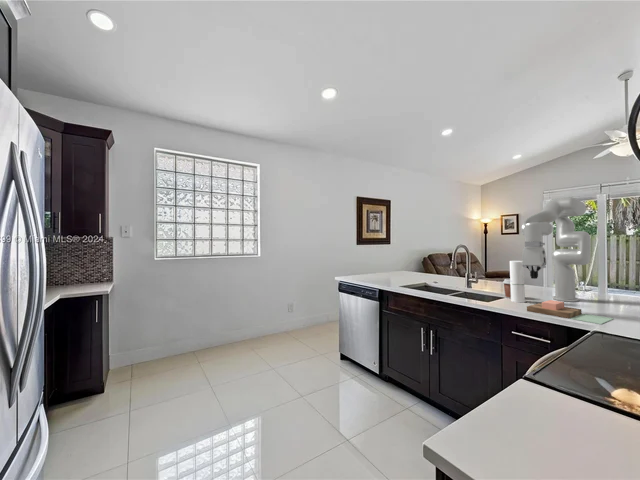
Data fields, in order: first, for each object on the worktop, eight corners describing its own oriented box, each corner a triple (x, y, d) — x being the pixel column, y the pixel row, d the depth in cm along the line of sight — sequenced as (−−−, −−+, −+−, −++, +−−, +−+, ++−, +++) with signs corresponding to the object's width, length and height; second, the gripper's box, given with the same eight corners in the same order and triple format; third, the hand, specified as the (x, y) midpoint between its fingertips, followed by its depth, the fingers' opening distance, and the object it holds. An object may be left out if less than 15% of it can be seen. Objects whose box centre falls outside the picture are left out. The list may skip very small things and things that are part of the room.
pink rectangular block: (550, 305, 151) (550, 300, 152) (564, 307, 146) (564, 301, 146) (542, 307, 147) (541, 302, 147) (555, 310, 142) (555, 304, 142)
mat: (583, 314, 142) (583, 313, 142) (613, 319, 132) (613, 318, 132) (570, 318, 135) (569, 318, 135) (600, 324, 125) (600, 323, 125)
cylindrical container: (520, 300, 178) (519, 260, 178) (527, 302, 171) (526, 261, 171) (508, 300, 178) (507, 260, 179) (515, 302, 171) (513, 261, 171)
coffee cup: (500, 296, 191) (500, 278, 191) (515, 296, 189) (515, 278, 189) (506, 299, 182) (506, 280, 182) (522, 299, 180) (521, 280, 180)
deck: (540, 307, 158) (540, 303, 158) (581, 314, 142) (581, 309, 142) (526, 311, 151) (526, 306, 151) (568, 318, 135) (568, 313, 135)
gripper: (553, 244, 149) (554, 279, 149) (521, 244, 162) (522, 276, 162) (545, 245, 146) (546, 280, 145) (514, 245, 159) (515, 277, 158)
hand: (534, 278), depth 154 cm, fingers closed
